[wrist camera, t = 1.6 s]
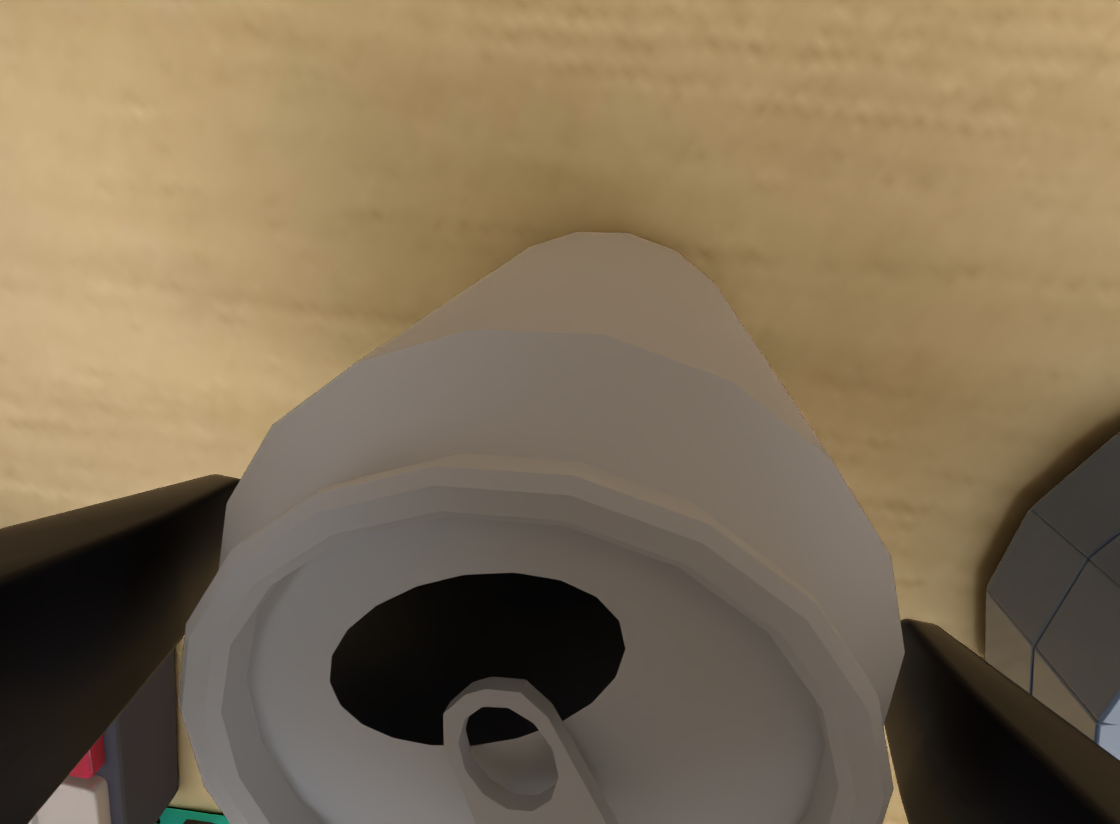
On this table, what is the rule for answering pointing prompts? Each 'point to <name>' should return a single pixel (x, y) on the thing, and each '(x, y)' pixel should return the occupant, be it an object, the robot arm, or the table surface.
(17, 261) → the table surface
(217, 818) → the handheld game console
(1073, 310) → the table surface
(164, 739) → the red and grey device
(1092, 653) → the bowl
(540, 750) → the can
